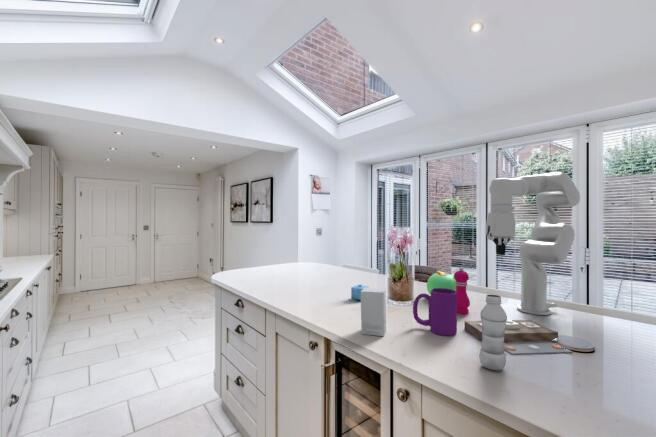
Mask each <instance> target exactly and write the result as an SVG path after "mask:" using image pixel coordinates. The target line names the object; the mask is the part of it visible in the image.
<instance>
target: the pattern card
mask: <svg viewBox="0 0 656 437" xmlns="http://www.w3.org/2000/svg"><path fill="white" fill-rule="evenodd" d="M555 343H556V342H518V343H504V348H505V352H507V353H508V354H509V355H511V356H512V355H513V356H514V355H515V356H517V355H519V356H521V355H545V354H546V355H549V354H551V355H552V354H573V352H574V351H572V350H570V349H568V348H566V347H564V346H562V345H560V344H558V345H556V344H557V343H556V344H555ZM559 345H560V346H559ZM561 346H562V347H561ZM563 347H564V348H563ZM565 348H566V349H565Z"/></svg>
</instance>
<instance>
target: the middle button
mask: <svg viewBox="0 0 656 437" xmlns="http://www.w3.org/2000/svg"><path fill="white" fill-rule="evenodd" d="M512 320H513V319H507V321H506V326H505V328H506V329H519V324H518V323H516V322H514V321H512Z"/></svg>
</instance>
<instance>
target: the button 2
mask: <svg viewBox="0 0 656 437" xmlns="http://www.w3.org/2000/svg"><path fill="white" fill-rule="evenodd" d="M520 325H522V326H524V327H526V328H529V329H530V328H540V326H538V325H536V324H534V323H531V322H529V323H520Z"/></svg>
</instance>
